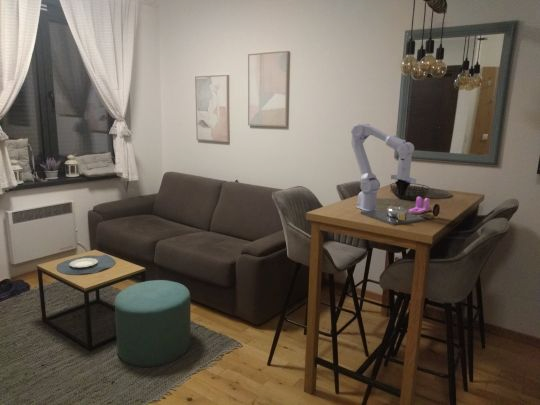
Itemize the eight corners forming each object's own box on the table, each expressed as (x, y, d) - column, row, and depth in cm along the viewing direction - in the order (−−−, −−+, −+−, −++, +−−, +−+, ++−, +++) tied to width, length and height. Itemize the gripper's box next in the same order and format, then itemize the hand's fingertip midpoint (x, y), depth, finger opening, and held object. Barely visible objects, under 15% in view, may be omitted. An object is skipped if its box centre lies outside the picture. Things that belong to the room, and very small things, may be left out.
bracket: (418, 208, 217) (419, 196, 216) (428, 210, 213) (430, 197, 212) (406, 212, 208) (407, 199, 207) (416, 214, 204) (418, 201, 203)
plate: (360, 213, 203) (360, 211, 203) (391, 210, 212) (391, 207, 211) (392, 225, 183) (393, 222, 183) (425, 220, 192) (425, 218, 192)
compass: (418, 216, 201) (419, 201, 200) (434, 216, 201) (436, 202, 199) (423, 220, 193) (425, 205, 192) (440, 221, 193) (442, 206, 191)
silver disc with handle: (385, 212, 201) (385, 204, 200) (403, 213, 200) (404, 205, 199) (391, 220, 186) (392, 212, 185) (411, 221, 186) (412, 213, 185)
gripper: (387, 166, 201) (384, 193, 204) (409, 170, 188) (406, 199, 191) (398, 165, 204) (395, 192, 207) (420, 169, 191) (417, 198, 194)
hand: (401, 195), depth 199 cm, fingers closed
